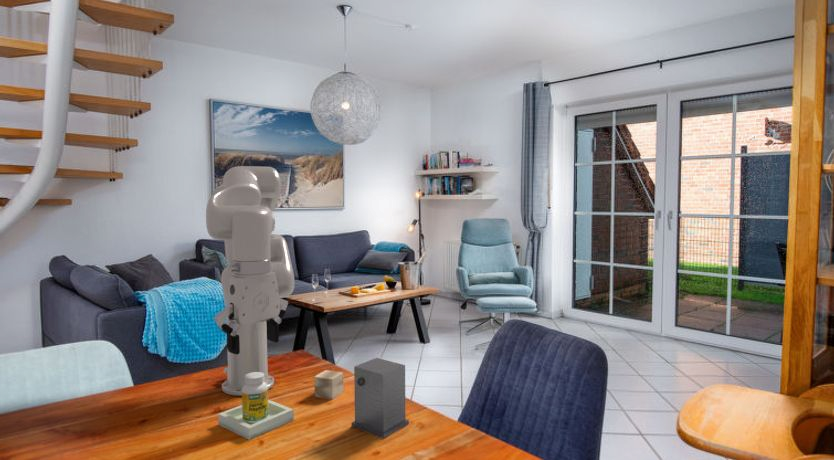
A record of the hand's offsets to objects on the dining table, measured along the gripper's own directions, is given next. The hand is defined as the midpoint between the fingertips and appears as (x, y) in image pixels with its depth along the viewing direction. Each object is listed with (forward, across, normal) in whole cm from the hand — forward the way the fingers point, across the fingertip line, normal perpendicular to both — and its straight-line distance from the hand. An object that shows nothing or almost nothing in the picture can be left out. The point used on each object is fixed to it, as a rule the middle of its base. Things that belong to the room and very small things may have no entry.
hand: (254, 346), depth 108 cm
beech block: (+17, +19, -2) cm, 26 cm away
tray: (+16, -1, -1) cm, 16 cm away
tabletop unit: (+16, +14, -23) cm, 32 cm away
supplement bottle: (+16, -1, -1) cm, 16 cm away
